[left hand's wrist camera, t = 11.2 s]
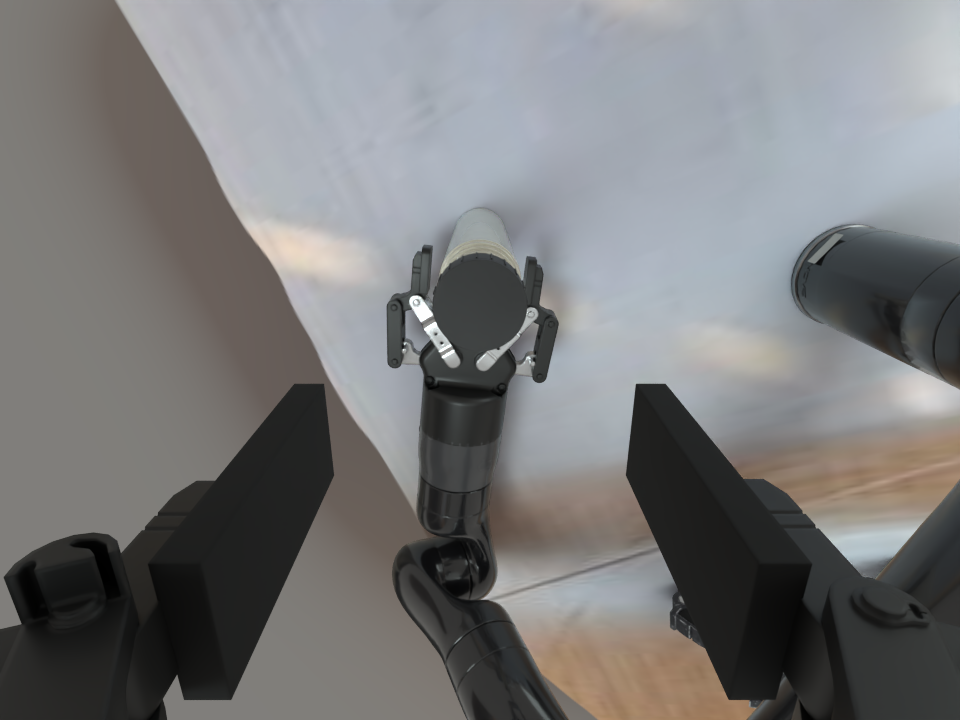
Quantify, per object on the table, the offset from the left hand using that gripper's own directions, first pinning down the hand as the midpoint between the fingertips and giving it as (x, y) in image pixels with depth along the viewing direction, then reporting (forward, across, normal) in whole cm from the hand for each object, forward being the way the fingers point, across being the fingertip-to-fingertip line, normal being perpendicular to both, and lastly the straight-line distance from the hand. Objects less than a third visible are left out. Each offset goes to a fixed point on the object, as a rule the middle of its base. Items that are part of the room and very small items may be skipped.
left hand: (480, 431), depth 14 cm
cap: (+13, 0, 0) cm, 13 cm away
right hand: (+32, 0, 0) cm, 32 cm away
